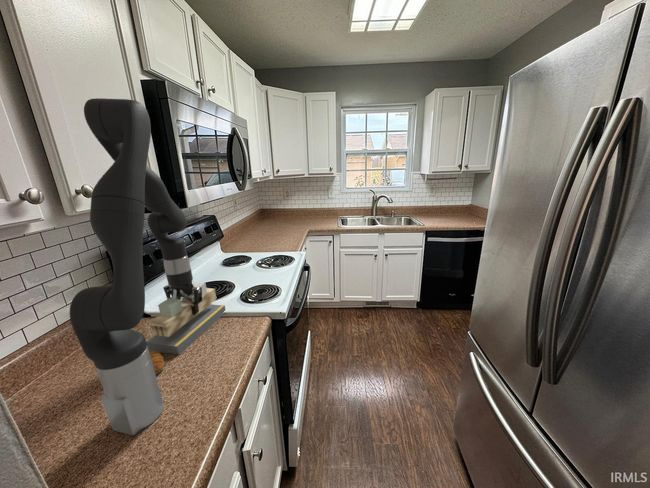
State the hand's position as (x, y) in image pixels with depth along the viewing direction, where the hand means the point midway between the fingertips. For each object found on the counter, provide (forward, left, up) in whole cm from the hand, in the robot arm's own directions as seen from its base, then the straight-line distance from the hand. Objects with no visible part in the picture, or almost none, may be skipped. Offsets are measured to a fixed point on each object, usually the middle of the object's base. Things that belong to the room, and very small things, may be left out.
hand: (187, 312), depth 93 cm
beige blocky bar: (0, 0, -1) cm, 1 cm away
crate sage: (-6, 0, +4) cm, 7 cm away
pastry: (-18, -2, -7) cm, 20 cm away
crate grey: (+6, 0, +4) cm, 7 cm away
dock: (0, 0, -7) cm, 7 cm away
